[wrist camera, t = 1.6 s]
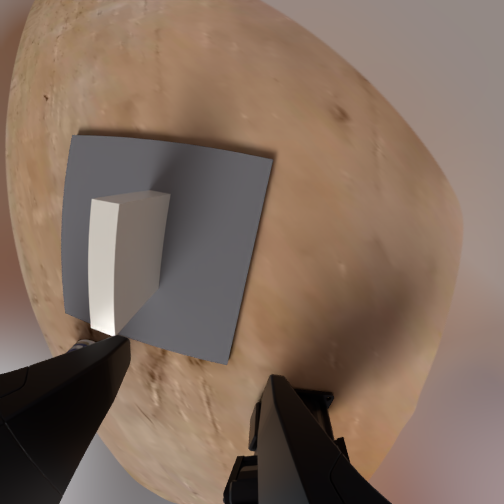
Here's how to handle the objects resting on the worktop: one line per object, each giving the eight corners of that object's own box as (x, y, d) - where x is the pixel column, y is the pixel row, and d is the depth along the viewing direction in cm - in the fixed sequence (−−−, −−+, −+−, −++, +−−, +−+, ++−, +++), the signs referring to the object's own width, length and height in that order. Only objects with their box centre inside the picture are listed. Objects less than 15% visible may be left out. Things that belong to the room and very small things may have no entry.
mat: (272, 160, 17) (272, 159, 17) (227, 360, 21) (227, 365, 21) (76, 135, 17) (72, 135, 16) (68, 310, 21) (65, 313, 21)
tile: (170, 193, 17) (119, 204, 11) (158, 288, 19) (115, 337, 13) (147, 189, 17) (89, 198, 11) (137, 282, 19) (89, 327, 13)
